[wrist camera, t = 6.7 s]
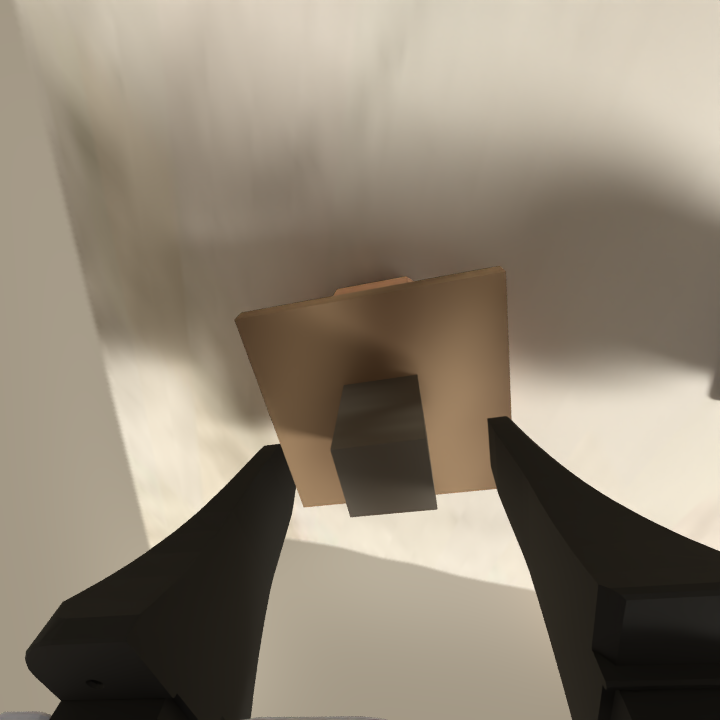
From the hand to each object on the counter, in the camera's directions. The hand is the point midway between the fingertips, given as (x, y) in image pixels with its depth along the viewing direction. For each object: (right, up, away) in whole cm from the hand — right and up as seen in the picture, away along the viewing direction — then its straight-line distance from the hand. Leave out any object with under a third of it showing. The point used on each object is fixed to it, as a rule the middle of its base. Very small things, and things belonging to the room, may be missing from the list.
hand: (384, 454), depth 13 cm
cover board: (0, +1, +3) cm, 4 cm away
